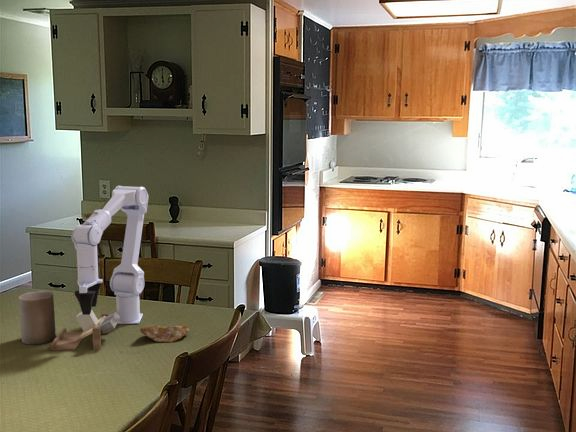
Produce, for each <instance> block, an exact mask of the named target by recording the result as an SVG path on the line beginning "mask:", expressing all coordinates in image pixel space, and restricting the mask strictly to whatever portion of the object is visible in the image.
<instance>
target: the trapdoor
mask: <svg viewBox="0 0 576 432" xmlns="http://www.w3.org/2000/svg"><path fill="white" fill-rule="evenodd" d="M97 319H98V320H99V322H98V323H97V325H96V326H94V327H101V333H102V332H103V333H104V335H106V334H105V333H107V332H109V331H110V332H111V331H113V330H114V329H115V328H116V327H117V325H118V324H117V323H118V321H119V319H120V317H119V315H118V313H117V310H116V311H113V312H112V313H109V315H108V316H103V317H102V316H101V317H99V318H97ZM92 328H93V327H92ZM92 328H90V329H89V330H87V331H85V332H84V331H83V330H82V332H83V333H82V334H81V336H80V338H81V339H82V338H83V339H84V338H86V337H88V336H89V335H90V336H91V335H93V333H92ZM83 339H82V340H83Z"/></svg>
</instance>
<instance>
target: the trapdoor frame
mask: <svg viewBox="0 0 576 432" xmlns="http://www.w3.org/2000/svg"><path fill="white" fill-rule="evenodd" d="M108 315H110V313H109V312H102V313H101V317H103V316H108ZM82 333H83V331H68V330H67V327H63V328H62V329H61V330H60V332H59V333H58V334H57V335H56V338H55V339H54V340H53V341H51V343H50V351H76V349H77V348H78V346H79V345H80V343H81V342H82V341H83V339H84V338H82V339H81V338H80V336H81V334H82ZM110 333H111V331H109V332H107V333H105V334H104V333H103V332H102V330H101V327H93V328H92V348H93V349H92V350H101V349H102V335H103V334H104V335H109V334H110ZM101 334H102V335H101Z"/></svg>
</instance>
